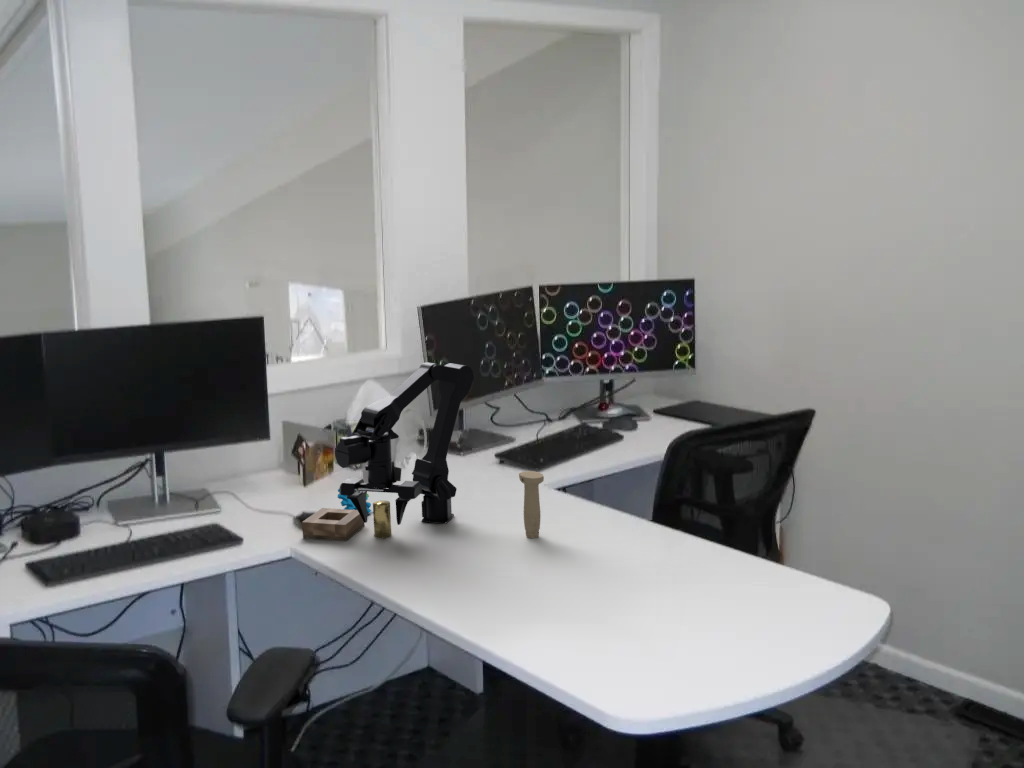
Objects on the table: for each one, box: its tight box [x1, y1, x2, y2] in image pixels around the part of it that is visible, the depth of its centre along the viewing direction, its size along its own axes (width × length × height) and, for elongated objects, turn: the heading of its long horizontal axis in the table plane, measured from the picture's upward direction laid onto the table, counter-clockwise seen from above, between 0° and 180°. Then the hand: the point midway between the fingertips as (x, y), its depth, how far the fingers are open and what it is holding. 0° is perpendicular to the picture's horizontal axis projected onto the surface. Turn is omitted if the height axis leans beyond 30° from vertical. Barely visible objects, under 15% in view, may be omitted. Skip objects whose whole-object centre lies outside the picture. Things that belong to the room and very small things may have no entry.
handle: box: [518, 470, 545, 539], centre depth 233 cm, size 5×6×15 cm
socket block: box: [301, 507, 366, 542], centre depth 240 cm, size 11×11×4 cm
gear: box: [337, 487, 372, 515], centre depth 254 cm, size 11×6×10 cm
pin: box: [372, 500, 392, 539], centre depth 236 cm, size 4×4×8 cm
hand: (382, 523), depth 237 cm, fingers open, 8 cm apart
